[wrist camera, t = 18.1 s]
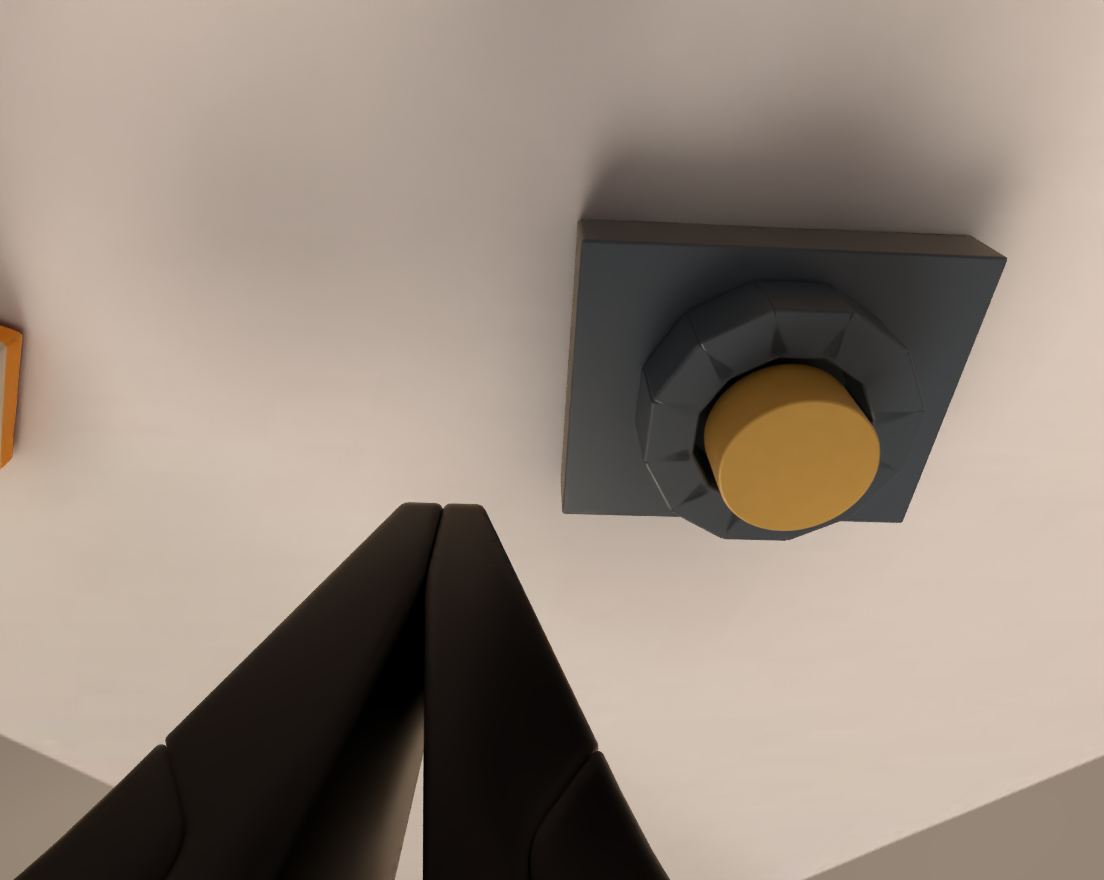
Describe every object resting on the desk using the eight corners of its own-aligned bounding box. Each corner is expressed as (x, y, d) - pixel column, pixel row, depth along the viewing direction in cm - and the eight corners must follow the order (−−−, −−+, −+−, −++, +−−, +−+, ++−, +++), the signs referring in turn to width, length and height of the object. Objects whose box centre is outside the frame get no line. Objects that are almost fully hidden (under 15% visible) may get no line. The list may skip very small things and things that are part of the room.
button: (692, 485, 19) (706, 530, 17) (717, 359, 17) (734, 397, 15) (831, 489, 19) (855, 534, 17) (871, 365, 17) (903, 403, 15)
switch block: (560, 480, 22) (564, 557, 19) (577, 218, 18) (585, 267, 15) (879, 489, 23) (930, 566, 20) (972, 235, 18) (1056, 286, 15)
